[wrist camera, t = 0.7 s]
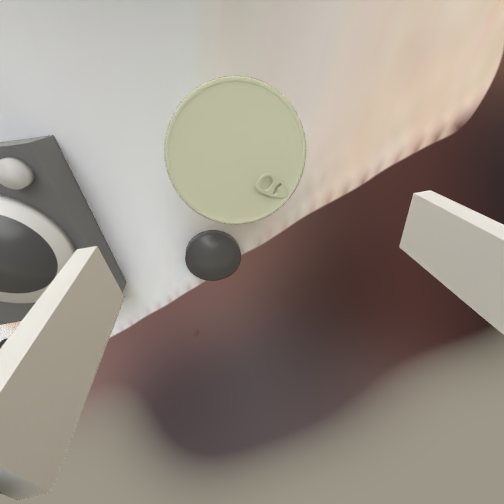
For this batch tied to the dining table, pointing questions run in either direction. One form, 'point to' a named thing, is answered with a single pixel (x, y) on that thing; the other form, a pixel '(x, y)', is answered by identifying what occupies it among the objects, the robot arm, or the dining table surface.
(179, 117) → the can
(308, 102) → the dining table surface
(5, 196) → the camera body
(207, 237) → the lens cap
